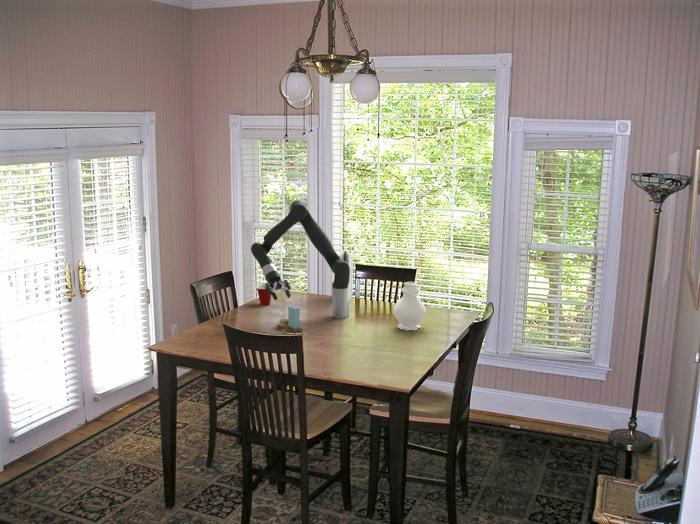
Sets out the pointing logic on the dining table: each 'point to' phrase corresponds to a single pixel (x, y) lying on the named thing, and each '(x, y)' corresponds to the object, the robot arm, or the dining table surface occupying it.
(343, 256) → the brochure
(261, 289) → the plastic cup
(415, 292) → the decorative vase
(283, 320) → the offcut top
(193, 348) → the dining table surface
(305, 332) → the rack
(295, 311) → the teal rectangular block
